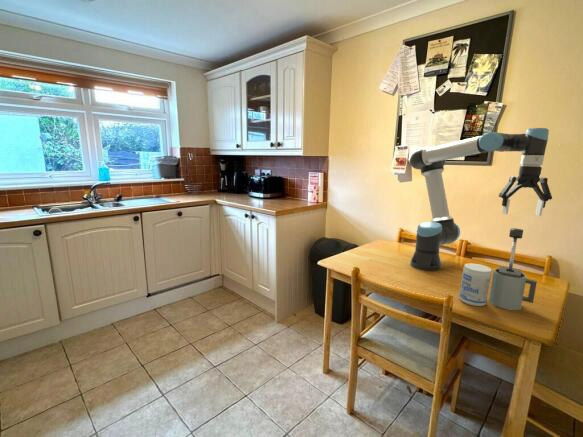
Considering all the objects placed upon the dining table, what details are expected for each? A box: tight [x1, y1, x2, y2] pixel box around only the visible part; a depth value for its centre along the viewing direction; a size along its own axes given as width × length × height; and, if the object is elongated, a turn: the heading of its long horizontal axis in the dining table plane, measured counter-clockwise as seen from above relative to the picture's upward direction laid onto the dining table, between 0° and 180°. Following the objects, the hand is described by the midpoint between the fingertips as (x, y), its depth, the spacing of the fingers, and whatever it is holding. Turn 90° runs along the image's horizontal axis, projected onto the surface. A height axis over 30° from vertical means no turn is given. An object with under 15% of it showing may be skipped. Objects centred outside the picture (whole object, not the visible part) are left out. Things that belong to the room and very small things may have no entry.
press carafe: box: [488, 265, 538, 311], centre depth 116 cm, size 14×10×14 cm
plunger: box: [505, 227, 524, 277], centre depth 114 cm, size 8×8×20 cm
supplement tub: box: [458, 262, 493, 307], centre depth 119 cm, size 10×10×15 cm
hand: (521, 214), depth 131 cm, fingers open, 13 cm apart
